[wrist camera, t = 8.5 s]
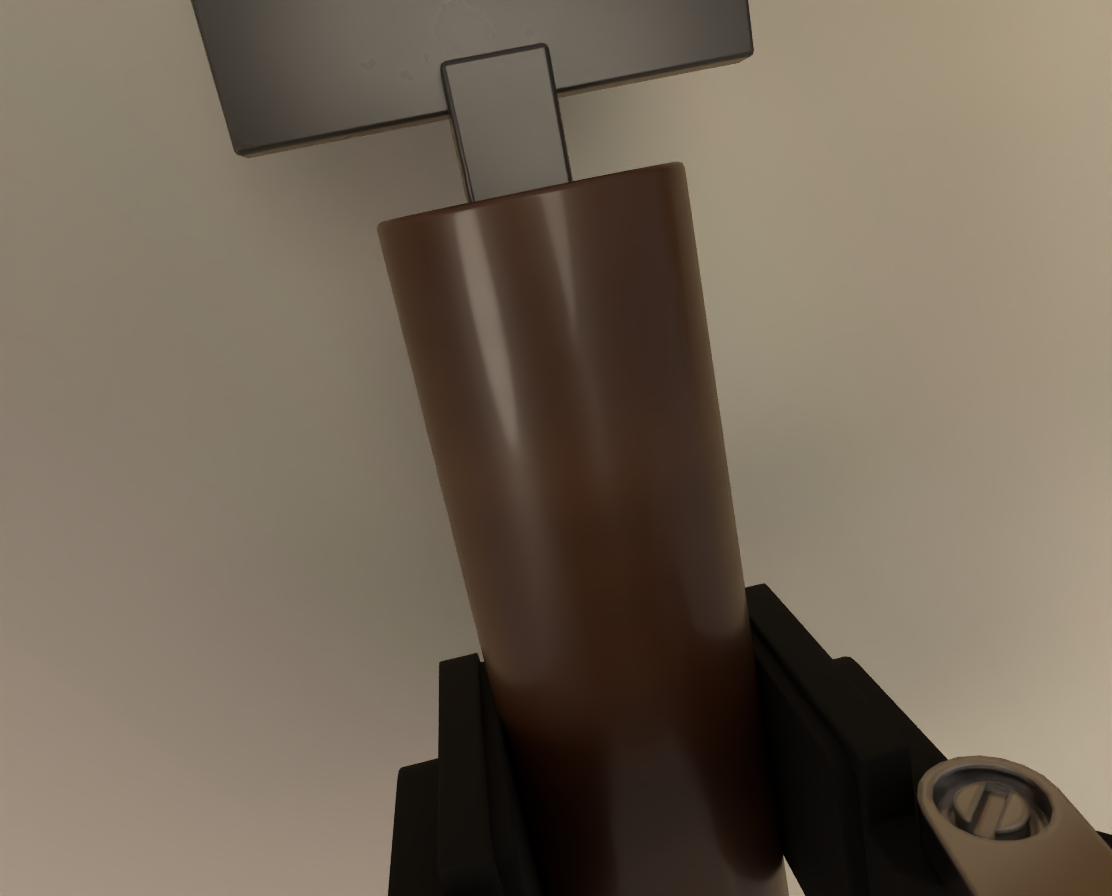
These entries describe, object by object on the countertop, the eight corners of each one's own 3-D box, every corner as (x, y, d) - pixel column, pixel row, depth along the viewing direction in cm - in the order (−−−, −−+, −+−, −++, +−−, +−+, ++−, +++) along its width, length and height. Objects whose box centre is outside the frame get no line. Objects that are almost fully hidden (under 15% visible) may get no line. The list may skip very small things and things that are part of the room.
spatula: (-23, -777, 7) (-352, -1484, 4) (630, -851, 8) (753, -1539, 5) (512, 1094, 14) (532, 1341, 11) (853, 999, 14) (965, 1210, 11)
